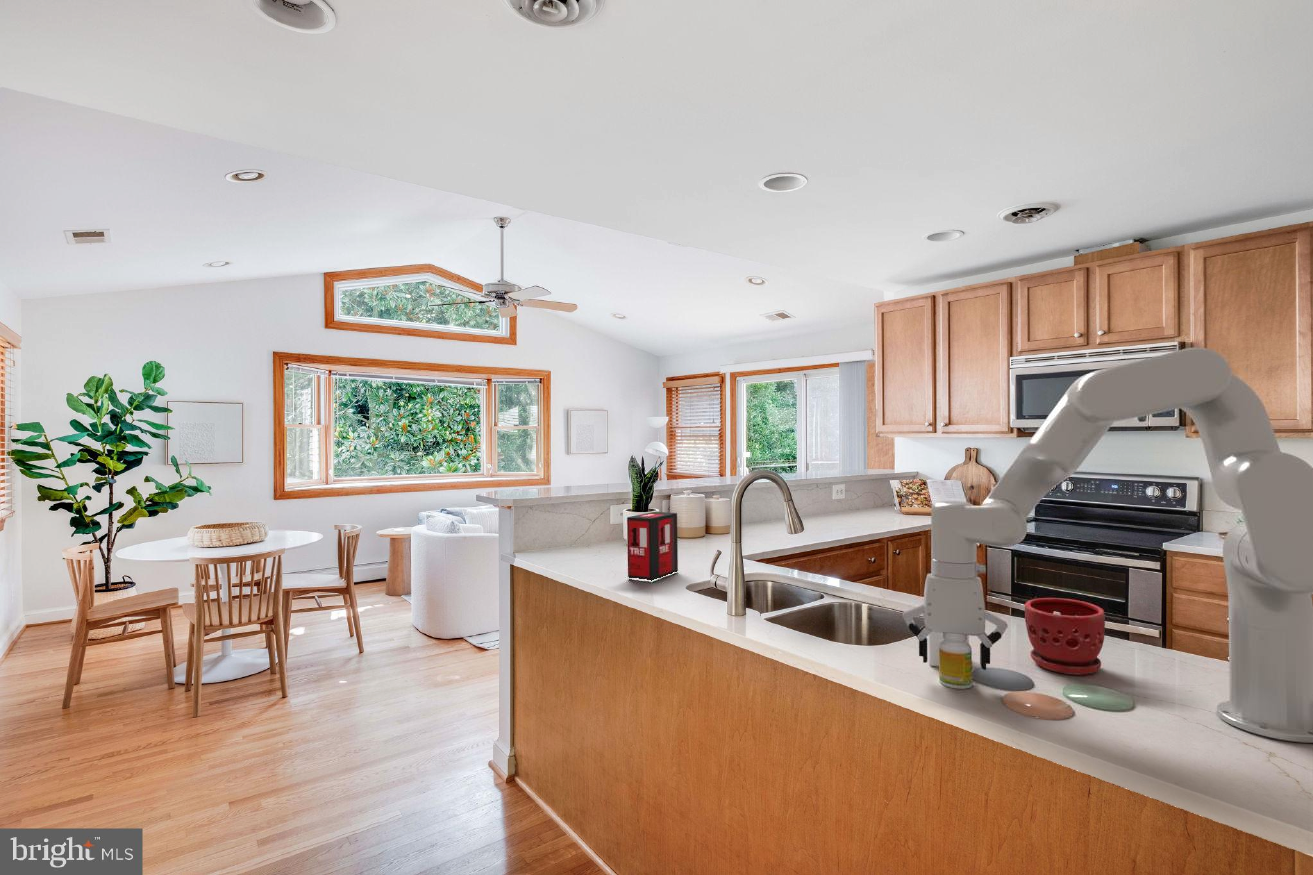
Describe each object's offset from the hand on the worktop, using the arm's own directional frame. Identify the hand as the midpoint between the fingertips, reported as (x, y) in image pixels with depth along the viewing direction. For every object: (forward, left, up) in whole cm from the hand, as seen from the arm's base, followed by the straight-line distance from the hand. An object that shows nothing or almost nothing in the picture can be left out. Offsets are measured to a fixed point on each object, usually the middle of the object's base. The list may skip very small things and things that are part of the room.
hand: (953, 663), depth 118 cm
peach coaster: (-12, +6, -4) cm, 14 cm away
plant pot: (-20, -16, -4) cm, 26 cm away
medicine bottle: (+1, -12, -4) cm, 13 cm away
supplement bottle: (0, 0, -4) cm, 4 cm away
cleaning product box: (+86, -67, -4) cm, 109 cm away
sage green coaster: (-22, -1, -4) cm, 23 cm away
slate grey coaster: (-8, -5, -4) cm, 10 cm away
